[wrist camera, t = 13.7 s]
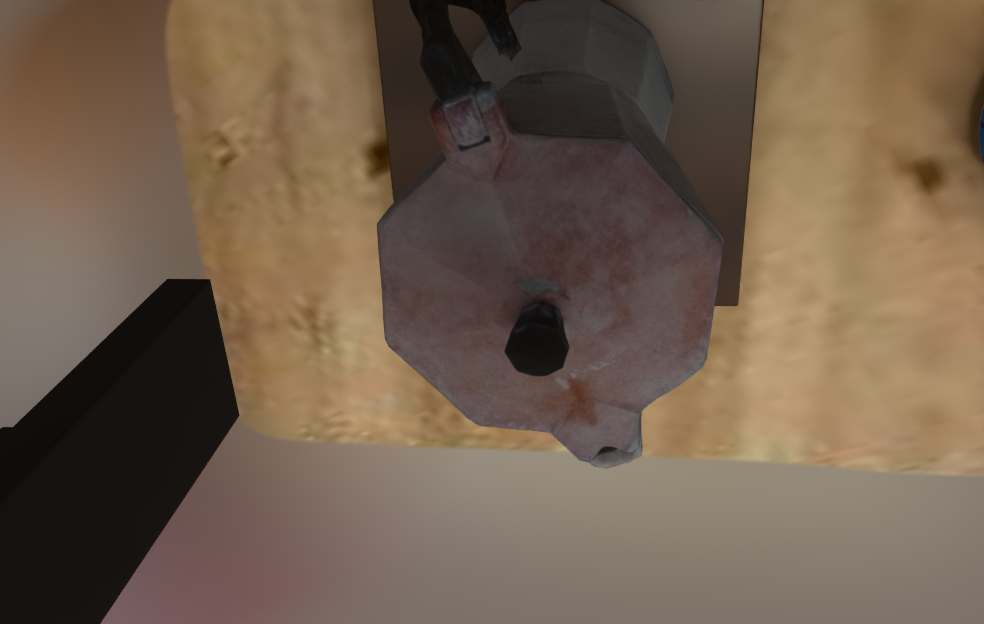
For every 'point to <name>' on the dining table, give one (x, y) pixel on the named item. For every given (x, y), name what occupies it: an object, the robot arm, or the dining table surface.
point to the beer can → (981, 134)
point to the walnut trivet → (694, 117)
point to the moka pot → (550, 229)
